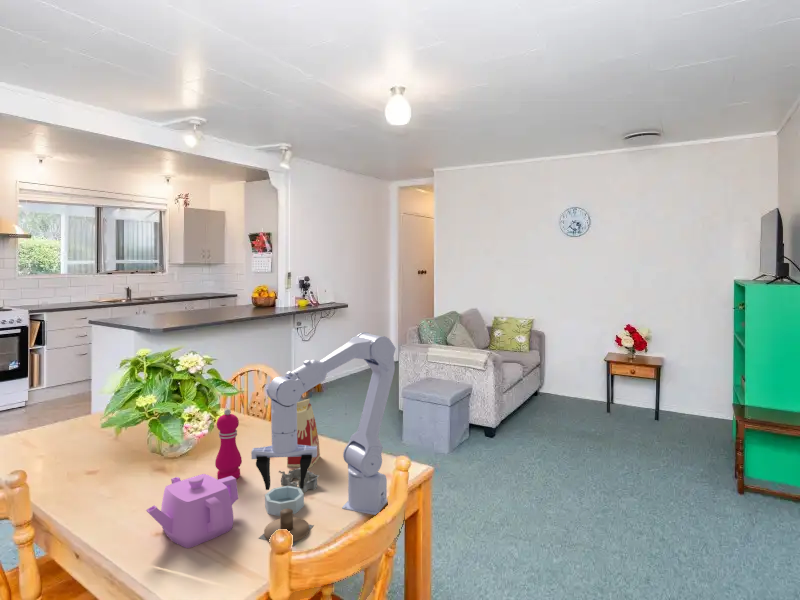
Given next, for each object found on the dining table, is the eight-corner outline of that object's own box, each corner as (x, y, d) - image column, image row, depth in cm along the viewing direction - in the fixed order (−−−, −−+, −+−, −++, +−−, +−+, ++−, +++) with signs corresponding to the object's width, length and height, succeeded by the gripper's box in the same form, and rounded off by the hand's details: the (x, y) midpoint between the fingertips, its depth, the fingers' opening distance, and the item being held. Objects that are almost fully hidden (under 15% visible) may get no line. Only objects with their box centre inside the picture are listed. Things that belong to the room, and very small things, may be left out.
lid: (316, 524, 116) (316, 505, 116) (294, 547, 107) (293, 526, 107) (280, 517, 120) (279, 498, 119) (255, 539, 110) (254, 518, 110)
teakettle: (224, 549, 107) (223, 494, 106) (143, 552, 106) (141, 496, 105) (243, 510, 124) (242, 462, 123) (173, 512, 123) (172, 464, 122)
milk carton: (320, 456, 158) (319, 395, 157) (312, 468, 149) (311, 403, 148) (292, 455, 159) (291, 394, 158) (282, 466, 150) (281, 402, 149)
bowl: (309, 502, 128) (309, 489, 128) (290, 519, 119) (290, 505, 119) (279, 496, 131) (279, 484, 131) (258, 513, 122) (258, 499, 122)
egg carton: (277, 484, 139) (276, 470, 139) (299, 476, 144) (299, 462, 144) (298, 497, 131) (298, 482, 131) (321, 487, 137) (321, 473, 137)
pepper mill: (233, 483, 139) (232, 413, 137) (210, 481, 140) (208, 412, 139) (246, 472, 146) (245, 406, 144) (224, 470, 147) (222, 404, 146)
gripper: (317, 423, 117) (318, 478, 118) (255, 424, 116) (256, 480, 117) (315, 433, 110) (316, 492, 111) (249, 435, 109) (250, 494, 110)
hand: (285, 487), depth 114 cm, fingers open, 7 cm apart
